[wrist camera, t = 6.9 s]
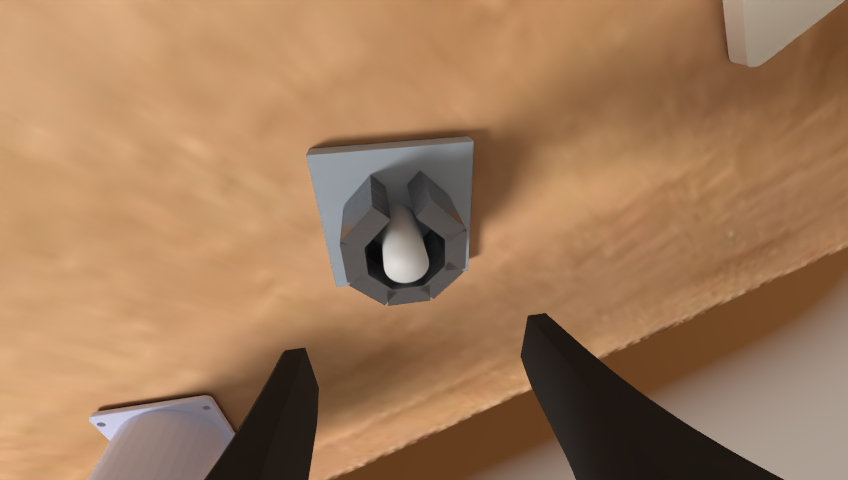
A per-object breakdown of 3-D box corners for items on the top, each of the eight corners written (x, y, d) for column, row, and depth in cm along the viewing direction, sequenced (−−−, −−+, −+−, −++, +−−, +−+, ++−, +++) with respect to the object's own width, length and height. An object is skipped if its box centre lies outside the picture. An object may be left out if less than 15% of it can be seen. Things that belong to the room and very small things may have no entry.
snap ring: (449, 256, 20) (464, 295, 17) (354, 267, 20) (352, 310, 17) (450, 167, 17) (468, 197, 14) (337, 177, 17) (332, 210, 14)
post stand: (463, 261, 22) (487, 317, 18) (337, 276, 21) (331, 339, 17) (468, 136, 18) (501, 171, 13) (308, 148, 17) (291, 191, 12)
